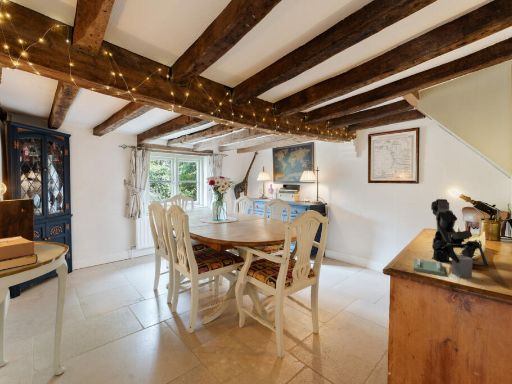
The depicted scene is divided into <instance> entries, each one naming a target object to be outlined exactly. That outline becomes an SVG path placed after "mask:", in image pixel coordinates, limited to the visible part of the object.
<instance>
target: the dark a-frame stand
mask: <svg viewBox="0 0 512 384" xmlns="http://www.w3.org/2000/svg"><path fill="white" fill-rule="evenodd" d="M474 241H477V242H479V244H480V245H481V246H480V247H479V248H478V249H477V250H479V253H480V256H481V259H482V261H477V260H473V262H472V265H475V266H482V267H488V268H489V267H490V266H489V262H488V260H487V258H486V255H485V252H484V250H483V247H482V246H483V245H482V244H483V243H482V241H481V240H480V239H479V240H477V239H475V240H474ZM475 253H476V250H475V251H473V252H471V256H472V258H473V257H474V255H475Z"/></svg>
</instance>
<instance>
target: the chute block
mask: <svg viewBox="0 0 512 384" xmlns="http://www.w3.org/2000/svg"><path fill="white" fill-rule="evenodd" d="M456 256H457V258H458V260H459V263H457V262H455V261H454V260H453V259H451V261H452V262H451V275H454V276H456V277H458V278H460V279H469V278H470V279H472V278H473V264H472V262H473V261H474V258H473V257H472V258H471V257H468V256H465V255H463V254H456Z"/></svg>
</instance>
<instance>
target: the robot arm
mask: <svg viewBox="0 0 512 384" xmlns="http://www.w3.org/2000/svg"><path fill="white" fill-rule="evenodd" d="M430 207H431V208H430V209H431V211H432V214H433V215H434V216H435V220H436V232H435V234H434V237H433V238H432V247H431V248H432V250H433V255H432V256H433V257H431V259H433V260H434V261H436V262H439V263H446V262H447V263H452V260H454V261H455V262H457V263H459V260H458V258H457V256H456V255H457V254H456V252H455V250H454V249H461V252H460V253H461V255H465V256H468V257H471V258H473V257H472V256H471V252H473V251H475V252H476V250H479V249H478V248H479V247H480V246H481V245H480V243H479V241H478V240H477V241H475V240H469V239H470V238H473V234H472V232H471V231H470V230H464V231H455V229H454V226H455V225H456V221H458V217H457V216H456V215H455V214H454V212H453V210H452V209H450V202H449V201H448V199H446V198H444V199H443V198H437V199H435V200H434V201H432V202H431V205H430ZM465 240H468V241H467V242H465ZM464 242H465V243H464ZM450 259H451V260H450Z"/></svg>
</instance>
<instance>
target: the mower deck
mask: <svg viewBox="0 0 512 384" xmlns="http://www.w3.org/2000/svg"><path fill="white" fill-rule="evenodd" d="M413 260H414V261H413V272H419V273H426V274H432V275H436V276H437V275H438V276H442V277H445V270H444V265H443V262H439V261H431V260H425V259H421V258H414V259H413Z"/></svg>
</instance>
